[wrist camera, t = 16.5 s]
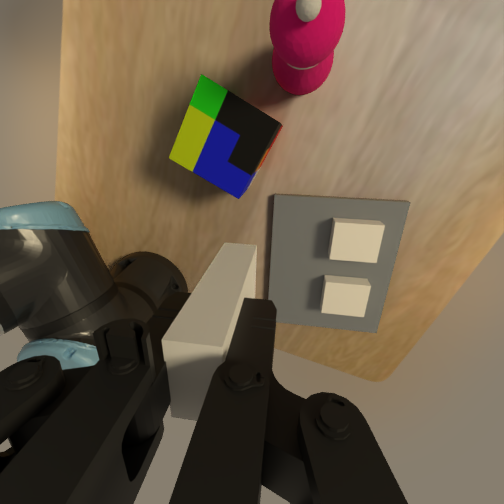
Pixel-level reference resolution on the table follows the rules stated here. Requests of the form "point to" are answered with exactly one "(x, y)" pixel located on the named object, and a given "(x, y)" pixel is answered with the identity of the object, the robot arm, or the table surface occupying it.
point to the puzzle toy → (224, 138)
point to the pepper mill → (304, 41)
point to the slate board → (317, 260)
